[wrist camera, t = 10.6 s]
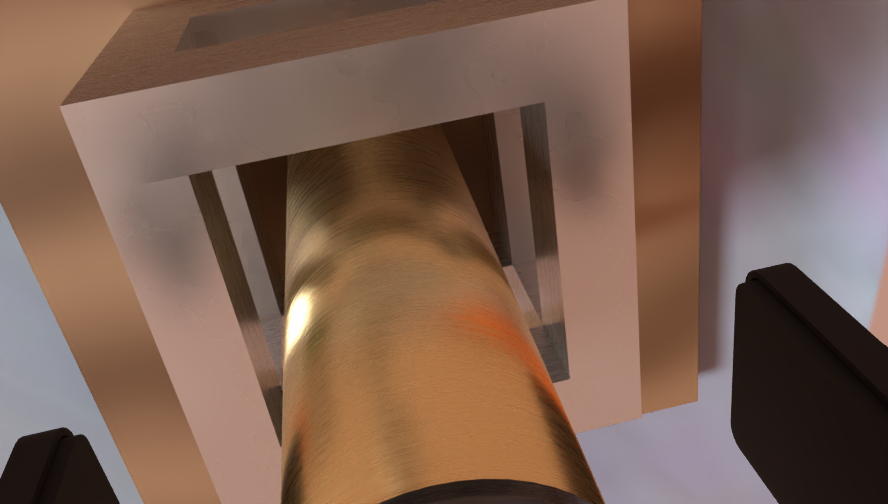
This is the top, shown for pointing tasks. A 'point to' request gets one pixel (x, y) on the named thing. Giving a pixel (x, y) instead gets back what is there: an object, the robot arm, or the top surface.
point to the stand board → (113, 297)
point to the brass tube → (410, 342)
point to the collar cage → (345, 120)
